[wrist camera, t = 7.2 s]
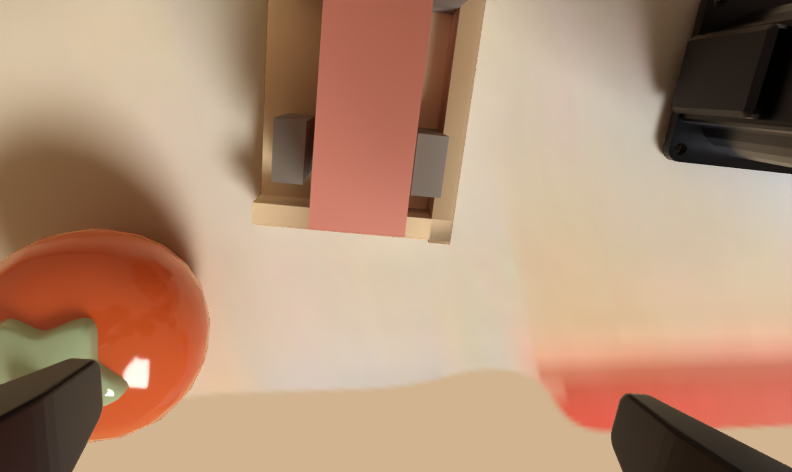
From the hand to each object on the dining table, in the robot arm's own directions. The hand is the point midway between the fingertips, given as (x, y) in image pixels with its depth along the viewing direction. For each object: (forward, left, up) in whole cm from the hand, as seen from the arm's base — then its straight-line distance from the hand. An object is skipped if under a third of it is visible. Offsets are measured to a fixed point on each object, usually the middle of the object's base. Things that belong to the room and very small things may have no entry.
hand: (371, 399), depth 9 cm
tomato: (+9, +4, -13) cm, 16 cm away
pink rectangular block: (0, -6, -12) cm, 13 cm away
